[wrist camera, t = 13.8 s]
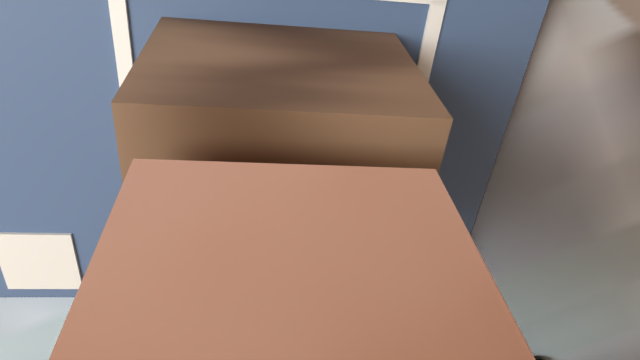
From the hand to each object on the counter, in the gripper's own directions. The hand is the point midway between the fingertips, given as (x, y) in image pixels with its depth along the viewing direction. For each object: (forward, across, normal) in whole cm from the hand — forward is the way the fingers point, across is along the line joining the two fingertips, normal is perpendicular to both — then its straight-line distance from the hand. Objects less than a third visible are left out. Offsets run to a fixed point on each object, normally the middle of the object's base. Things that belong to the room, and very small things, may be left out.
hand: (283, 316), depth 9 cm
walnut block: (+7, 0, 0) cm, 7 cm away
